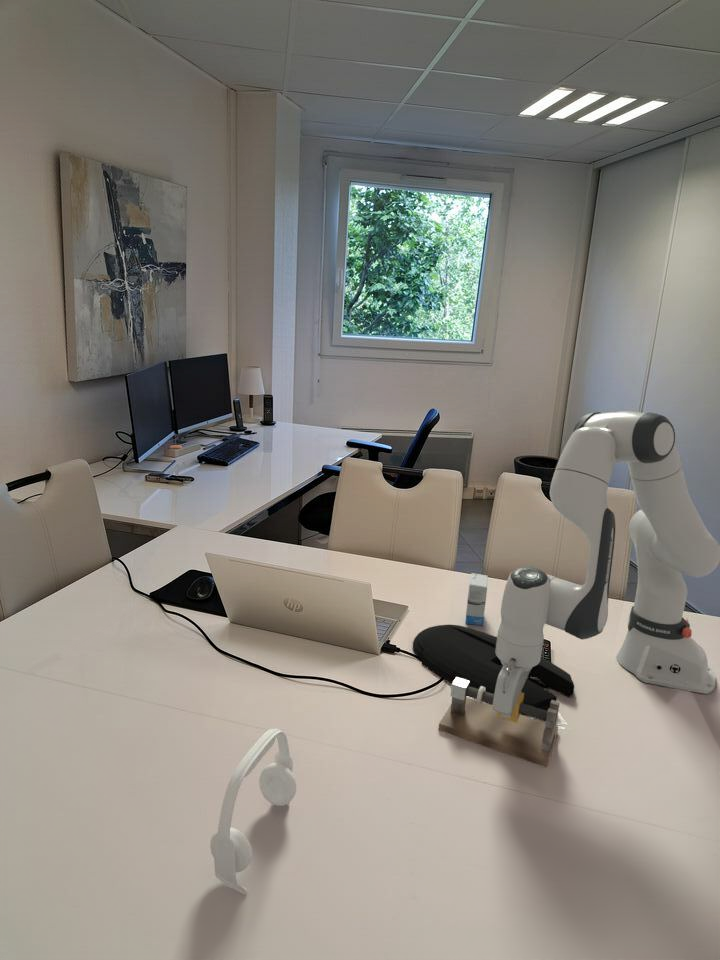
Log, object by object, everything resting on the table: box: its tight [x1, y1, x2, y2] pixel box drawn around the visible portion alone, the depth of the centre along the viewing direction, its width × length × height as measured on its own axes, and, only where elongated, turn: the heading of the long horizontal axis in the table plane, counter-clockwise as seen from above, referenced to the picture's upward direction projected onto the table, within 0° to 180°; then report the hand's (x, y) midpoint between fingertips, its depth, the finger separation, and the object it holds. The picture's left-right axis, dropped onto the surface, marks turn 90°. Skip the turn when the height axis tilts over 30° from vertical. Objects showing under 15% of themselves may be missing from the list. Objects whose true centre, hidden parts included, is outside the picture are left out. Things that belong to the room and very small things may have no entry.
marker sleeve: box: [497, 692, 524, 723], centre depth 133 cm, size 4×4×4 cm
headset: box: [209, 728, 297, 896], centre depth 103 cm, size 20×7×18 cm, turn 159°
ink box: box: [465, 572, 489, 627], centre depth 182 cm, size 8×5×12 cm, turn 168°
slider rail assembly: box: [438, 696, 561, 768], centre depth 135 cm, size 22×12×10 cm, turn 64°
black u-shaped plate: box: [412, 624, 575, 717], centre depth 159 cm, size 25×41×5 cm, turn 47°
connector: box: [450, 677, 470, 716], centre depth 138 cm, size 3×3×7 cm
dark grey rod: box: [466, 686, 558, 723], centre depth 134 cm, size 18×4×4 cm, turn 64°
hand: (510, 708), depth 134 cm, fingers closed on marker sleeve, 4 cm apart
